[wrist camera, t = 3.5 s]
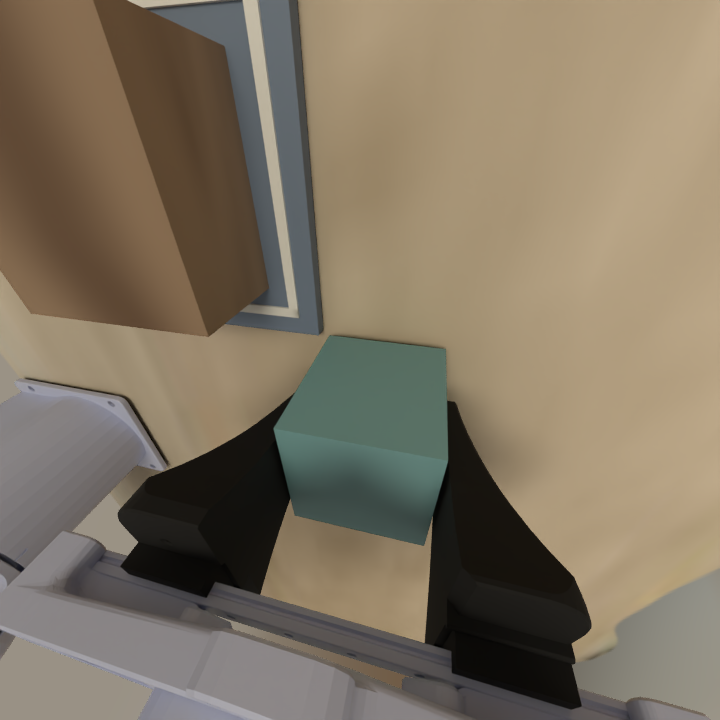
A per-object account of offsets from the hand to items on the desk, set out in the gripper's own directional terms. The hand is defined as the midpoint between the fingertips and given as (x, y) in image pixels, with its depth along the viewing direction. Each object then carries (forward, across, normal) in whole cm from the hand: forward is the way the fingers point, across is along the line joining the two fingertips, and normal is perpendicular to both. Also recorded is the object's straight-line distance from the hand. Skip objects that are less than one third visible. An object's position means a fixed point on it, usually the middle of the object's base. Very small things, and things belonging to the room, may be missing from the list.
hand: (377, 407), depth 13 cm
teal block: (+1, 0, 0) cm, 1 cm away
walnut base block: (+1, +8, -8) cm, 12 cm away
